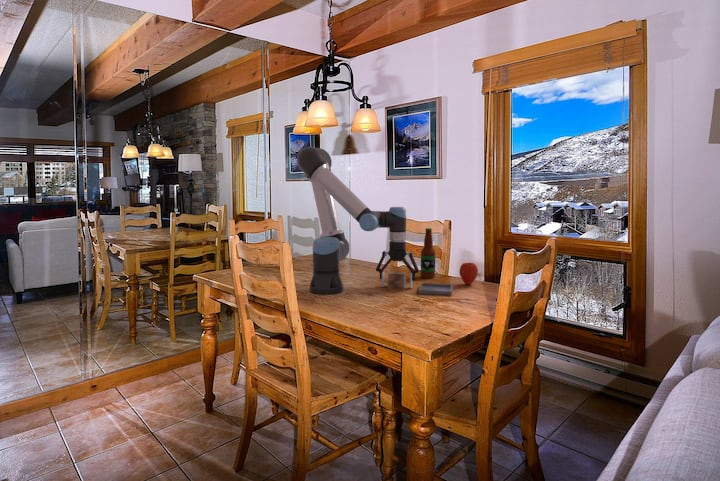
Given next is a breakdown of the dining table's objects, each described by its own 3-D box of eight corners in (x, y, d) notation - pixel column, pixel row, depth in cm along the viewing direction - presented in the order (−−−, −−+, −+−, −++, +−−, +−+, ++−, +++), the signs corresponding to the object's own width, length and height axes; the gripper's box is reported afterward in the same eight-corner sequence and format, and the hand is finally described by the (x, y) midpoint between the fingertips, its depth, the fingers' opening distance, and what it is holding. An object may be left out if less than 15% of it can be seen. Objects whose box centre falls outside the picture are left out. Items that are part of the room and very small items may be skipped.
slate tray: (418, 293, 201) (418, 289, 201) (421, 286, 214) (421, 282, 214) (451, 295, 198) (451, 291, 198) (452, 288, 211) (452, 284, 211)
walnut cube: (388, 288, 210) (388, 273, 210) (390, 285, 217) (390, 270, 216) (403, 289, 209) (403, 274, 208) (405, 286, 216) (405, 271, 215)
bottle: (418, 278, 233) (419, 228, 229) (423, 275, 239) (423, 227, 236) (432, 279, 230) (433, 229, 226) (436, 276, 236) (437, 228, 233)
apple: (466, 287, 213) (466, 264, 211) (455, 283, 221) (455, 261, 219) (481, 285, 216) (482, 262, 215) (469, 281, 224) (470, 260, 223)
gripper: (369, 241, 209) (369, 287, 212) (423, 242, 204) (423, 290, 207) (372, 239, 217) (372, 283, 219) (425, 240, 211) (424, 286, 214)
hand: (397, 287), depth 213 cm, fingers open, 12 cm apart
